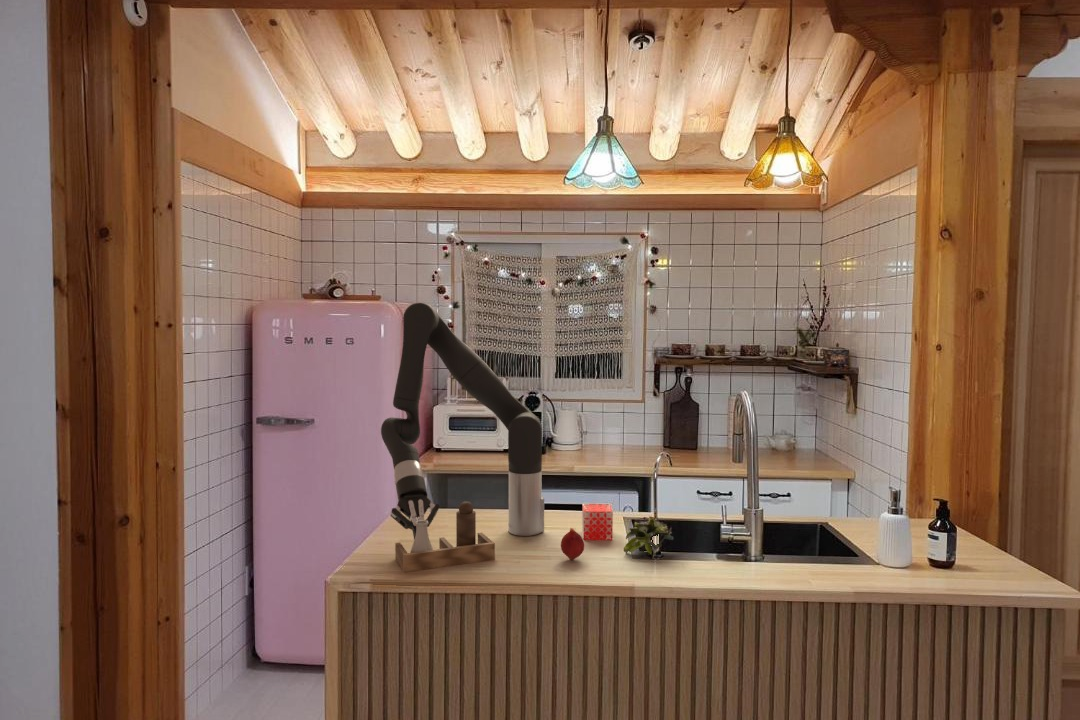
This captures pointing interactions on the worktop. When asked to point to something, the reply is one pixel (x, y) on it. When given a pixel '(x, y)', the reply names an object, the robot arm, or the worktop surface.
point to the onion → (572, 544)
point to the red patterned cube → (597, 522)
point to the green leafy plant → (647, 535)
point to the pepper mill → (465, 525)
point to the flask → (421, 537)
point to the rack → (445, 554)
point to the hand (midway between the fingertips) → (421, 541)
